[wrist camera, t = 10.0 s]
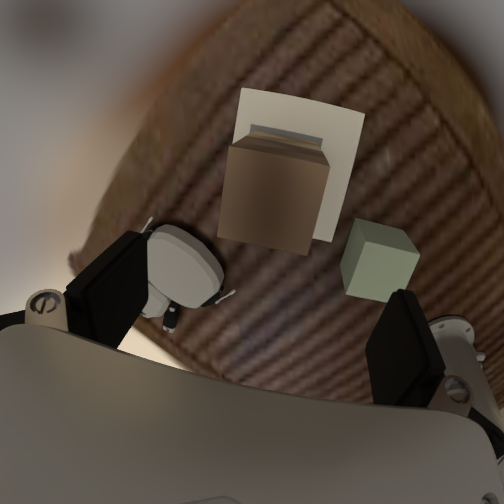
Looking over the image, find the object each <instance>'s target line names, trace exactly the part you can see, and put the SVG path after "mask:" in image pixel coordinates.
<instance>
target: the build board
mask: <svg viewBox="0 0 504 504" xmlns="http://www.w3.org/2000/svg"><path fill="white" fill-rule="evenodd" d="M364 116H365V114H364V113H360V112H357V111H353V110H350V109H346V108H342V107H338V106H334V105H330V104H326V103H322V102H318V101H314V100H309V99H304V98H300V97H295V96H290V95H284V94H279V93H273V92H267V91H261V90H255V89H248V88H242V89H241V95H240V101H239V107H238V113H237V119H236V125H235V132H234V138H233V143H235V142H237V141H238V140H240V139H241V138H243V137H245V136H246V135H247V134H249V133H251V132H253V131H254V130H258V131H264V132H269V133H275V134H280V135H285V136H290V137H294V138H299V139H304V140H308V141H313V142H317V144H318V146H319V148H320V150H321V151H323V153H324V155H325V157H326V159H327V161H328V163H329V165H330V171H329V175H328V179H327V183H326V187H325V191H324V195H323V199H322V203H321V207H320V211H319V214H318V218H317V222H316V226H315V230H314V233H313V237H312V238H314V239H319V240H323V241H328V242H332V239H333V235H334V232H335V229H336V225H337V222H338V218H339V215H340V211H341V208H342V204H343V201H344V197H345V193H346V190H347V186H348V182H349V179H350V175H351V171H352V167H353V163H354V159H355V155H356V151H357V147H358V142H359V138H360V134H361V130H362V125H363V121H364Z"/></svg>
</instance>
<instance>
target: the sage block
mask: <svg viewBox="0 0 504 504" xmlns="http://www.w3.org/2000/svg"><path fill="white" fill-rule="evenodd" d="M419 257H420V254H419V252H418V251H417V249H416V248H415V246H414V245H413V243H412V242H411V240H410V239H409V238H408V236H407V235H406V233H405V232H404V231H403V230H401V229H397V228H393V227H390V226H386V225H382V224H378V223H374V222H370V221H367V220H363V219H359V218H355V220H354V223H353V226H352V229H351V233H350V236H349V239H348V242H347V245H346V248H345V251H344V254H343V257H342V260H341V263H340V268H341V273H342V278H343V283H344V288H345V293H346V295H351V296H356V297H361V298H366V299H372V300H377V301H382V302H388V300H389V298H390V296H391V294H392V292H394V291H397V290H398V289H405V288H406V286H407V284H408V282H409V280H410V277H411V275H412V273H413V271H414V268H415V266H416V264H417V262H418V259H419Z"/></svg>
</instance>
